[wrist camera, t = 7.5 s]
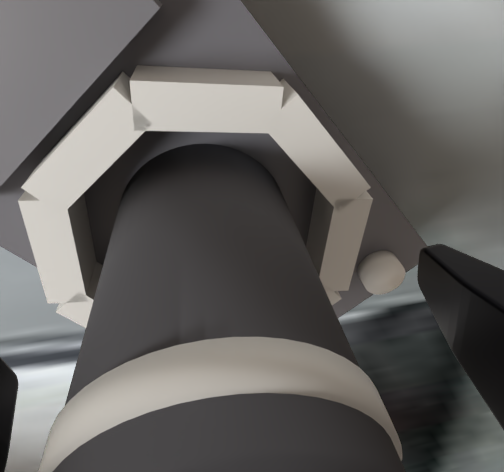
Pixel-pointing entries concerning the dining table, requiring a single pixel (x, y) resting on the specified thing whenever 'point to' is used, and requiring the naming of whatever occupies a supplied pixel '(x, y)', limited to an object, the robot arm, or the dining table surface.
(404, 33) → the dining table surface
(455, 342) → the robot arm
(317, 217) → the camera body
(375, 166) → the dining table surface
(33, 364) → the dining table surface
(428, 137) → the dining table surface
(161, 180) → the lens
